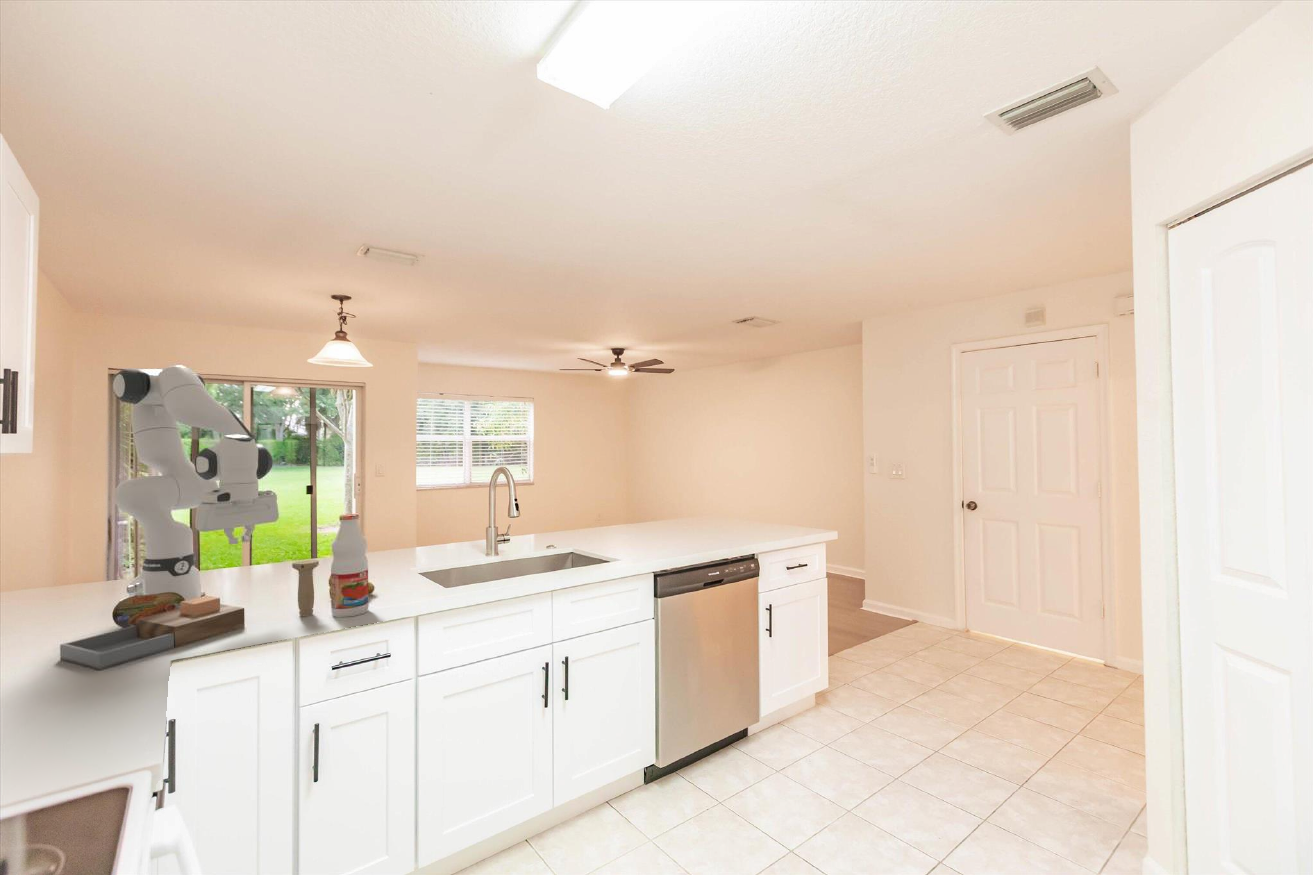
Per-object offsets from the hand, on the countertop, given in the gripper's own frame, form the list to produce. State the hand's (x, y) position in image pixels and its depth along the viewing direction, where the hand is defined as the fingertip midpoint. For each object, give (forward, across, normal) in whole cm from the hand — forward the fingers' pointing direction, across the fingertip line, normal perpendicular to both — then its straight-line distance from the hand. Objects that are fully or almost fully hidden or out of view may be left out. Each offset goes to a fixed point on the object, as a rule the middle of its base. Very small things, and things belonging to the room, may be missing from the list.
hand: (239, 542), depth 160 cm
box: (+21, +27, 0) cm, 35 cm away
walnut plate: (+21, +12, 0) cm, 24 cm away
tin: (+21, +12, -18) cm, 30 cm away
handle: (+21, -9, +14) cm, 27 cm away
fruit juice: (+21, -15, +24) cm, 35 cm away
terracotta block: (+16, +10, 0) cm, 19 cm away
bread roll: (+21, -26, +11) cm, 36 cm away
